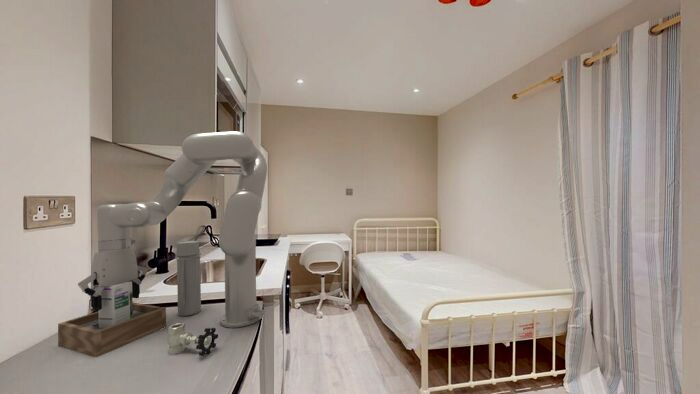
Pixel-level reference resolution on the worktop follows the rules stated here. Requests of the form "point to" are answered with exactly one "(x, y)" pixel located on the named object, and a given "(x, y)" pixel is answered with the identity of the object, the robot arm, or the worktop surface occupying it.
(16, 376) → the worktop surface
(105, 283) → the robot arm
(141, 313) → the socket box
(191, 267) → the water bottle
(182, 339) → the valve
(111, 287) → the syrup box
